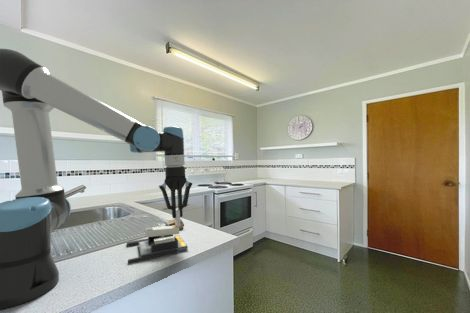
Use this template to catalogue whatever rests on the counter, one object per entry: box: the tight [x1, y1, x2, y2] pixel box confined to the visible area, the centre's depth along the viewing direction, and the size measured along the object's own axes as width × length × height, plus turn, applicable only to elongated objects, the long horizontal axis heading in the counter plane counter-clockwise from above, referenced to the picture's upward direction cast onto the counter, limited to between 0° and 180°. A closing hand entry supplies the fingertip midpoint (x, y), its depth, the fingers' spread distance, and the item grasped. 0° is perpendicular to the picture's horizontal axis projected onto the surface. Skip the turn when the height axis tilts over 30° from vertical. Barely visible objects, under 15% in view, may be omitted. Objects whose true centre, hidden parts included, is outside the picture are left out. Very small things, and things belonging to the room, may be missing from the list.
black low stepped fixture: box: [126, 237, 178, 265], centre depth 82 cm, size 18×18×1 cm
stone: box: [165, 218, 185, 231], centre depth 106 cm, size 8×10×4 cm
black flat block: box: [137, 234, 189, 257], centre depth 82 cm, size 16×13×5 cm
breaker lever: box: [144, 225, 180, 238], centre depth 82 cm, size 12×3×3 cm, turn 118°
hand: (177, 225), depth 85 cm, fingers closed
